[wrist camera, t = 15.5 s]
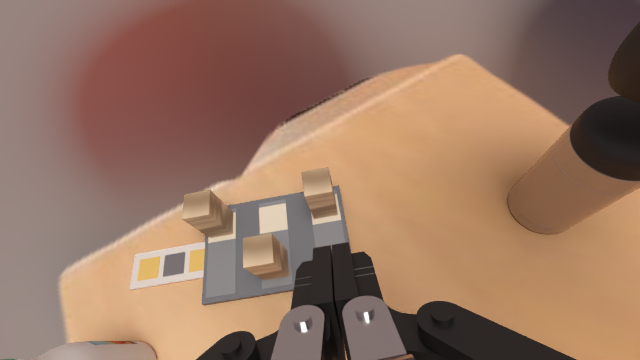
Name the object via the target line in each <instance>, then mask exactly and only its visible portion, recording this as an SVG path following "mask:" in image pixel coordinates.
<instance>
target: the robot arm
mask: <svg viewBox="0 0 640 360" xmlns="http://www.w3.org/2000/svg"><path fill="white" fill-rule="evenodd" d="M608 81H609V84H610V86H611V88H612V89H613V90H614V91H615V92H616V93H617V94H619V95H621V96H616V97H610V98H606V99H603V100H601V101H598V102H596V103H595V104H593V105H591V106H590V107H589V108H587V109H586V110H585V111H584V112H583V113H582V114H581V115H580V116H579V117H578V118H577V119H576V121H575V122H574V123H573V124H572V125H571V126H570V127H569V128H568V129H567V130H566V131H565V132H564V133H563V134H562V135H561V137H560V138H559V139H558V140H557V141H556V142H555V143H554V144H553V145H552V146H551V147H550V148H549V150H548V151H547V152H546V153H545V154H544V155H543V156H542V157H541V158H540V159H539V160H538V161H537V162H536V163H535V164H534V166H533V167H532V168H531V169H530V170H529V171H528V172H527V173H526V174H525V175H524V176H523V177H522V178H521V179H520V180H519V181H518V183H517V184H516V185H515V186H514V187H513V188H512V189H511V191H510V193H509V196H508V206H509V209H510V211H511V213H512V215H513V216H514V218H515V219H516V220H517V221H518V222H519V223H520V224H521V225H523V226H524V227H526V228H528V229H529V230H532V231H534V232H537V233H541V234H557V233H560V232H562V231H564V230H566V229H568V228H570V227H571V226H573V225H575V224H577V223H579V222H580V221H582V220H584V219H586V218H587V217H589V216H591V215H593V214H594V213H596V212H598V211H600V210H601V209H603V208H605V207H607V206H608V205H610V204H612V203H614V202H616V201H617V200H619V199H621V198H623V197H624V196H626V195H628V194H630V193H631V192H633V191H635V190H637V189H638V188H640V22H639V23H638V24H637V25H636V26H635V27H634V29H633V30H632V31H631V32H630V33H629V35H628V36H627V37H626V38H625V40H624V41H623V42H622V44H621V45H620V46H619V48H618V50H617V51H616V53H615V55H614V57H613V59H612V61H611V64H610V68H609V71H608ZM344 345H345V346H344ZM345 349H346V354H347V359H348V360H576V359H574V358H572V357H569V356H567V355H565V354H563V353H561V352H558V351H556V350H554V349H552V348H550V347H548V346H545V345H543V344H541V343H539V342H537V341H534V340H532V339H530V338H528V337H526V336H523V335H521V334H519V333H517V332H515V331H512V330H510V329H508V328H506V327H504V326H502V325H499V324H497V323H495V322H493V321H491V320H488V319H486V318H484V317H482V316H480V315H477V314H475V313H473V312H471V311H469V310H466V309H464V308H462V307H460V306H458V305H455V304H453V303H450V302H445V301H434V302H429V303H427V304H425V305H423V306H422V307H420V309H419V310H418V312H417V315H416V314H406V313H401V312H397V311H395V310H393V309H391V308H390V307H388V306H387V305H386V303H385V302H384V300H383V298H382V294H381V291H380V287H379V284H378V281H377V277H376V274H375V270H374V267H373V263H372V260H371V257H369V256H368V255H367V254H366V253H365V252H358V253H352V254H351V251H350V246H349V242H345V243H339V244H333V245H332V249H331V245H328V246H322V247H316V248H313V259H312V260H311V261H305V262H302V263H301V265H300V266H299V267H298V269H297V270H296V277H295V284H294V291H293V298H292V305H291V311H289V312H288V313H287V314H286V315H285V316H284V317H283V319H282V321H281V324H280V327H279V330H278V331H276V332H275V333H273V334H271V335H269V336H266V337H264V338H261V339H259V340H257V341H256V340H255V338H254V336H253V335H252V334H251V333H249V332H246V331H238V332H233V333H231V334H228V335H226V336H225V337H223V338H221V339H220V340H219V341H218V342H216V343H215V344H214V345H213V346H212V347H210V348H209V349H208V350H207V351H206V352H205V353H203V354H202V355H201V356H200V357H199V358H197V359H196V360H346V358H345Z"/></svg>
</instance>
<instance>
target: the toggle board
mask: <svg viewBox="0 0 640 360" xmlns="http://www.w3.org/2000/svg"><path fill="white" fill-rule="evenodd" d="M333 190H334V194H335V200H336V206H337V212H338V215H335V216H330V217H324V218H318V219H314V217H313V215H312V213H311V210H310V208H309V206H308V203H307V201H306V199H305V197H304V192H300V193H295V194H289V195H284V196H278V197H273V198H267V199H262V200H256V201H251V202H245V203H240V204H234V205H229V206H227V207H228V208H229V209H230V210H231V211H233V234H230V235H225V236H219V237H213V238H210V237H208V236H207V235H206V237H205V256H204V275H203V294H202V304H203V305H210V304H216V303H222V302H228V301H234V300H240V299H246V298H252V297H259V296H265V295H271V294H277V293H283V292H289V291H294V284H295V277H296V270H297V269H298V267H299V266H300V265H301V263H302V262H305V261H311V260H312V259H313V248H316V247H322V246H328V245H331V249H332V245H333V244H339V243H345V242H349V238H348V233H347V228H346V222H345V217H344V211H343V206H342V200H341V195H340V189H339V185H338V186H333ZM269 233H272V234H273V235H274V236H275V237H276V239H277V240H278V241H279V242H280V243H281V244H282V245H283V247H284V248H285V249H286V250H287V254H288V267H289V276H287V277H281V278H275V279H269V280H263V279H261V278H259V277H258V276H256V275H254V274H253V273H251V272H249V271H248V270H246V269H244V268H243V238H247V237H252V236H258V235H264V234H269ZM349 246H350V244H349ZM350 251H351V249H350Z"/></svg>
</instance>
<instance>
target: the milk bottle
mask: <svg viewBox="0 0 640 360" xmlns="http://www.w3.org/2000/svg"><path fill="white" fill-rule="evenodd" d="M2 360H25V359H2ZM30 360H157V359H156V354H155V352H154V350H153V349H152V348H151V347H150V346H149V345H148V344H146V343H144V342H137V341H89V342H75V343H69V344H65V345H62V346H59V347H56V348H54V349H51V350H49V351H47V352H46V353H43V354H42V355H40V356H38V357H35V358H33V359H30Z"/></svg>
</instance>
